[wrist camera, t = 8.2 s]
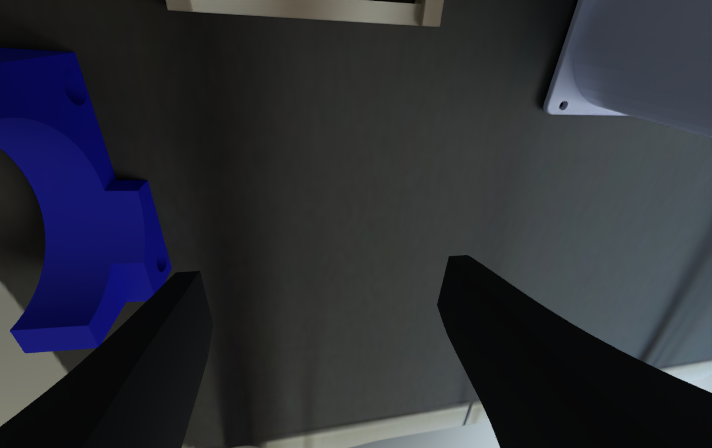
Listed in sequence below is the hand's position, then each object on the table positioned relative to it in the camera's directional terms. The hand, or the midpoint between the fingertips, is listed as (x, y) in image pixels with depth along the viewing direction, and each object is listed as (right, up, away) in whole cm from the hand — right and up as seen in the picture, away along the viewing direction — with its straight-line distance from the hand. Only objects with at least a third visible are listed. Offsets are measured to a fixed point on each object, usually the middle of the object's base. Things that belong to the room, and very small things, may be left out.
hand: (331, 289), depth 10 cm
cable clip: (-13, +4, +8) cm, 16 cm away
